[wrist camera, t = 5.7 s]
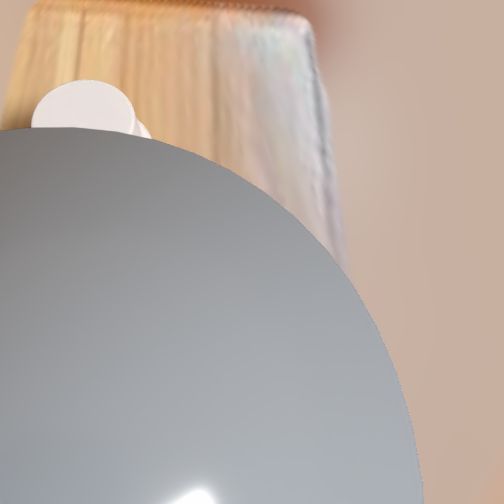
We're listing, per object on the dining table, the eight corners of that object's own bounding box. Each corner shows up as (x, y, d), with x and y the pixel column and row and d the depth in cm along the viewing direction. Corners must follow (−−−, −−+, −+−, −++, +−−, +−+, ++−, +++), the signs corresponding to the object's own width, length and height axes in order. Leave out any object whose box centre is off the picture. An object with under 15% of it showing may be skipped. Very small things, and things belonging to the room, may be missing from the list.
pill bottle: (76, 198, 23) (-2, 101, 15) (146, 161, 24) (108, 53, 16) (115, 261, 22) (52, 192, 14) (186, 220, 23) (166, 134, 15)
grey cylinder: (238, 509, 14) (341, 1476, 2) (82, 462, 14) (-914, 1019, 2) (278, 346, 16) (461, 224, 4) (140, 306, 16) (-137, 59, 4)
